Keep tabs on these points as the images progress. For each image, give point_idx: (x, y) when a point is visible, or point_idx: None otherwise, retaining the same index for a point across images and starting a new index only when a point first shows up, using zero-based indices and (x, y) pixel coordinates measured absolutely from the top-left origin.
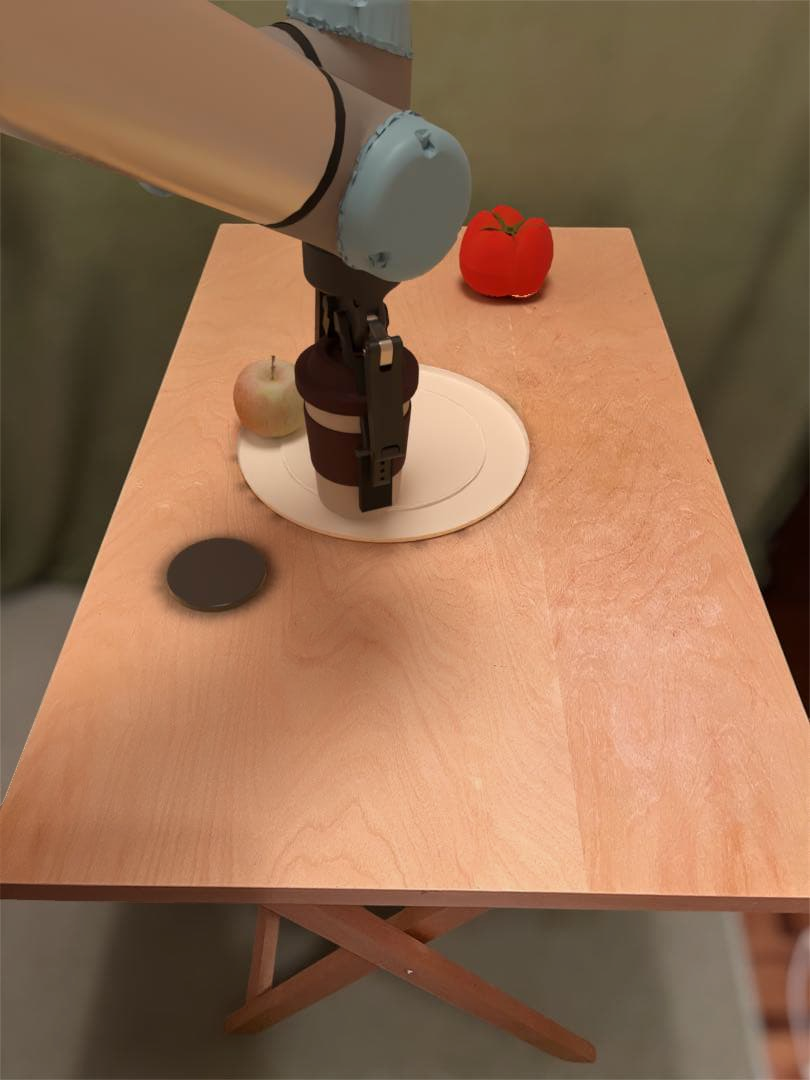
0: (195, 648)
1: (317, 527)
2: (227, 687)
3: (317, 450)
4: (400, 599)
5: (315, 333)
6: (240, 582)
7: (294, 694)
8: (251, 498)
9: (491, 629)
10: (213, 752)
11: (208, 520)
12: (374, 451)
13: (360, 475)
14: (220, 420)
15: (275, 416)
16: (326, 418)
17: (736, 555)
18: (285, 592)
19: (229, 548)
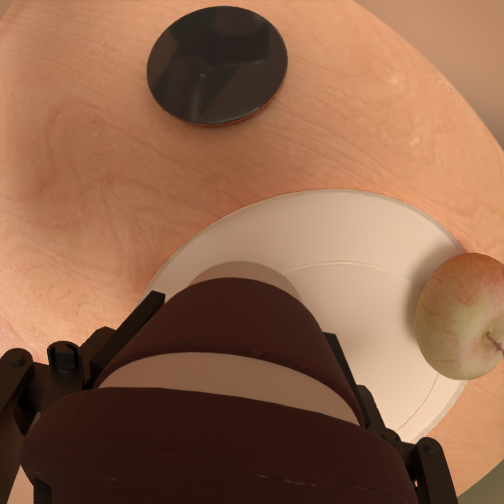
0: (132, 17)
1: (224, 231)
2: (75, 38)
3: (209, 300)
4: (70, 249)
5: (452, 497)
6: (173, 78)
7: (36, 93)
8: (346, 183)
9: (24, 296)
10: (42, 24)
11: (336, 105)
12: (3, 362)
13: (126, 327)
14: (490, 242)
15: (437, 299)
16: (127, 378)
17: None
18: (139, 130)
19: (245, 90)
